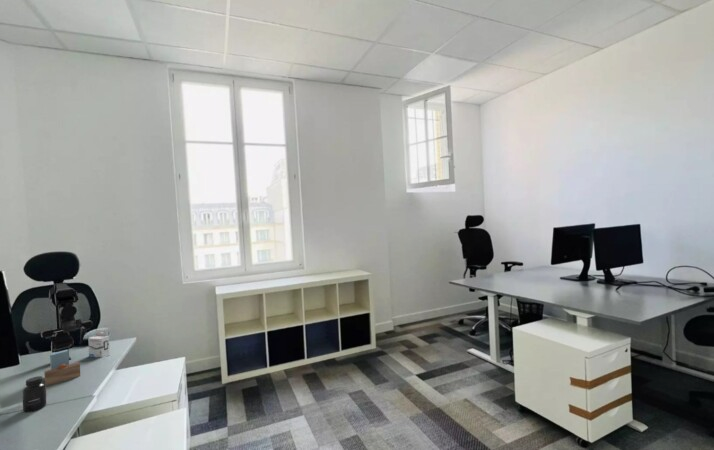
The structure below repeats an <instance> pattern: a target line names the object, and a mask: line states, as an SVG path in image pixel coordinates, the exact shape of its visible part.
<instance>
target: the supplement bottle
mask: <svg viewBox="0 0 714 450" xmlns="http://www.w3.org/2000/svg"><path fill="white" fill-rule="evenodd" d="M43 378H44V377H43V376H42V375H38V376H32V377H29V378H27V379H26V380H25V387H24V388H23V389H22V412H24V413H33V412H36V411H39V410H41V409H43V408H44V407H46V405H47V386H46V384H45V383H44V380H43Z"/></svg>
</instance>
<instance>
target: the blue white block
mask: <svg viewBox="0 0 714 450" xmlns="http://www.w3.org/2000/svg"><path fill="white" fill-rule="evenodd" d="M69 357H70V350H69V351H68V350H63V351H59V352H53V353H52V352H51V353H49V363H50V364H49V365H50V369H54V368H58V367H59V365H61V364H66V365H69V364H70V360H69Z"/></svg>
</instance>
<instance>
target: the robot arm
mask: <svg viewBox="0 0 714 450" xmlns="http://www.w3.org/2000/svg"><path fill="white" fill-rule="evenodd" d="M48 299H49V300H50V302H51V303H52V305H54V307H55V311H54V312H55V327H56V328H47V329H42V330H41V331H40V337H41V338H42V339H46V340H50V341H51V343H50V344H51V345H50V349H51V350H50V351H51V353H55V352H59V351H63V350H68V351H69V352H70V349H74V347H75V346H74V343H75V339H74V338H73V337H72V335H71V334H70V333H69V332H76V331H77V329H80V332H79V339H80V343H81V344H82V343H83V341H84V338H85V337H84V336H85V335H86V333H87V331H88V330H90V329H91V328H92V327H94V323H93V321H92V320H90V319H88V320H82V319H81V318H78V319H75V315H76V314H77V312H78V308H77V306H75V305H74V303H78V301H79V296H78V292H77V290H75V289H74V288H73V287H70V286H69V285H68V282H65V281H64V282H59V283H58V282H57V283H54V285H53V286H52V287H51V288H50V289H49V292H48ZM71 360H72V358H71V357H70V356H69V361H71Z"/></svg>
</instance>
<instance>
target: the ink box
mask: <svg viewBox="0 0 714 450" xmlns="http://www.w3.org/2000/svg"><path fill="white" fill-rule="evenodd" d="M87 340H88V357H89V358H103V357H104V358H105V357H110V356H111V355H110V336H109V330H108V329H96V330H95V335H93V336H90V337H89V338H88V339H87Z"/></svg>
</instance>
